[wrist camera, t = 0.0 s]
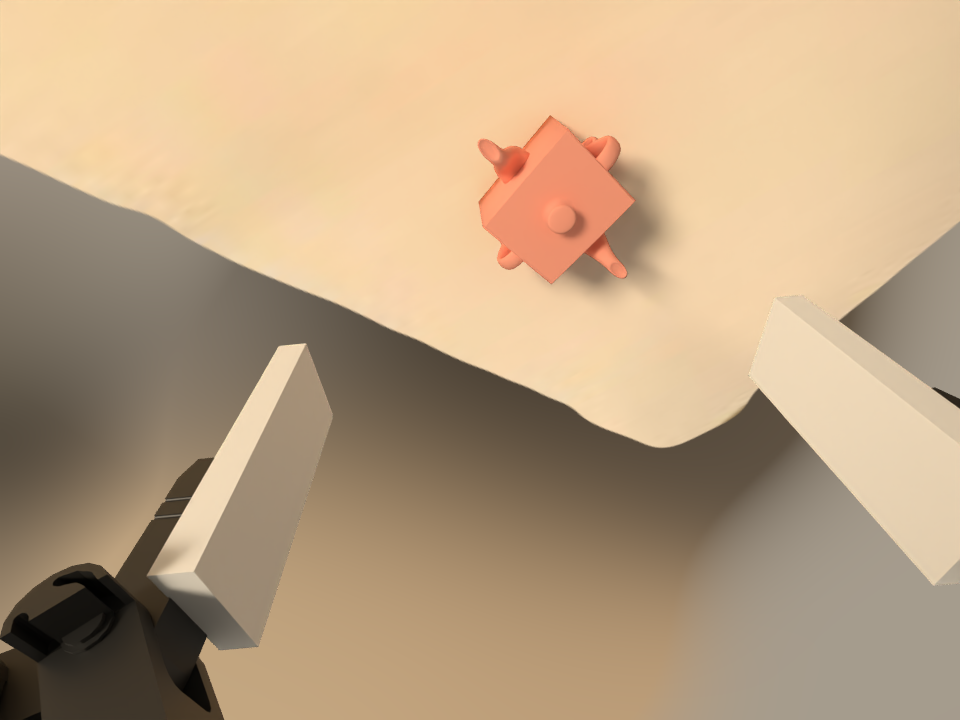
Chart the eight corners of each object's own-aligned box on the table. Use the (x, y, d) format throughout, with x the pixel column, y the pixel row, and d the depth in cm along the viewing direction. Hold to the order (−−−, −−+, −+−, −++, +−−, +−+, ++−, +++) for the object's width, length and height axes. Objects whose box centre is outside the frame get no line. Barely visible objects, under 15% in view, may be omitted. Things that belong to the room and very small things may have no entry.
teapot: (553, 288, 43) (572, 335, 36) (428, 185, 37) (422, 217, 30) (653, 190, 38) (697, 223, 31) (527, 52, 32) (547, 55, 25)
